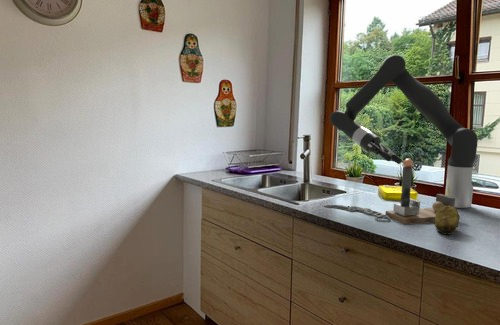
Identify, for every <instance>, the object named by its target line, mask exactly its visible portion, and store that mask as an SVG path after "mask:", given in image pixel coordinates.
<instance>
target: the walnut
mask: <svg viewBox="0 0 500 325" xmlns="http://www.w3.org/2000/svg"><path fill="white" fill-rule="evenodd" d="M441 206H444V205H443V203H441V202H438V201H437V202H436V201H434V202H433V203H432V207H431V208H433V210H434V211H436V212H437V210H438V209H439V208H440V207H441Z"/></svg>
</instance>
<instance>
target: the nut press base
mask: <svg viewBox="0 0 500 325" xmlns="http://www.w3.org/2000/svg"><path fill="white" fill-rule="evenodd" d="M435 197H436V198H435V202H437V201H438V202H441V203H443V205H450V206H453V207H454V206H455V198H453V197H450V196H446V195H445V194H442V193H437V194H436V196H435ZM384 215H388V216H389V217H390V219H391V220H394V221H395V222H398V223H400V224H403V225H414V224H415V225H416V224H429V223H430V224H431V223H435V215H436V211H434V210H433V208H432V207H426V208H424V207H423V208H420V210H419V215H409V216H403V215H401V214H398V213H396V212H393V210H385V214H384Z"/></svg>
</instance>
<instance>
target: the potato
mask: <svg viewBox="0 0 500 325" xmlns="http://www.w3.org/2000/svg"><path fill="white" fill-rule="evenodd" d="M460 218H461V217H460V214H459V210H458V208H456V207H453V206H450V205H444V206H441V207H440V208H439V209H438V210H437V212H436V215H435V222H434V227H435V228H436V230H437V231H438V232H439V233H441V234H444V235H451V234H453V233H455V232H456V230H457V228H458V227H459V222H460Z"/></svg>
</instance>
